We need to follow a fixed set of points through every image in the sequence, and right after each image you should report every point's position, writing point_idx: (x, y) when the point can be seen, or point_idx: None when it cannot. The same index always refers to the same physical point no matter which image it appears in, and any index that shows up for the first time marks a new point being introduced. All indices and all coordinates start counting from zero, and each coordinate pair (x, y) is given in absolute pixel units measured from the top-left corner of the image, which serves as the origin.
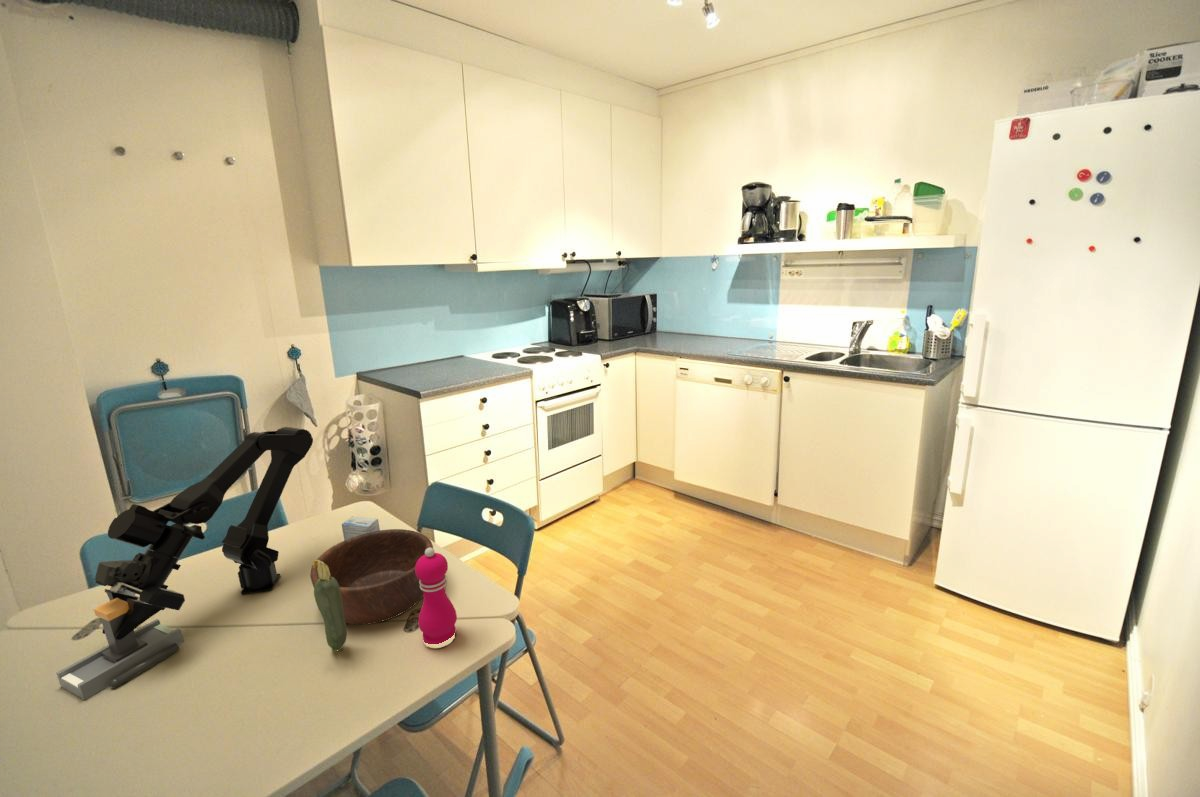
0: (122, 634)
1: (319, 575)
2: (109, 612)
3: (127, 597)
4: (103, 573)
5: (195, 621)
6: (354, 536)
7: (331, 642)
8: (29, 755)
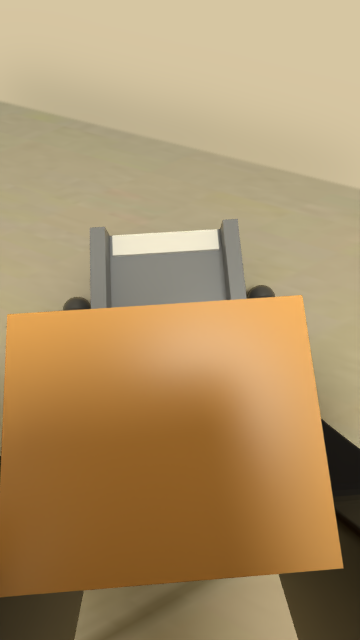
0: None
1: None
2: (24, 349)
3: (339, 631)
4: None
5: (202, 620)
6: None
7: None
8: (23, 133)
